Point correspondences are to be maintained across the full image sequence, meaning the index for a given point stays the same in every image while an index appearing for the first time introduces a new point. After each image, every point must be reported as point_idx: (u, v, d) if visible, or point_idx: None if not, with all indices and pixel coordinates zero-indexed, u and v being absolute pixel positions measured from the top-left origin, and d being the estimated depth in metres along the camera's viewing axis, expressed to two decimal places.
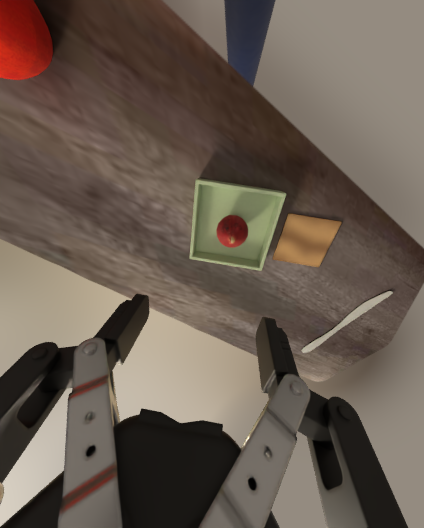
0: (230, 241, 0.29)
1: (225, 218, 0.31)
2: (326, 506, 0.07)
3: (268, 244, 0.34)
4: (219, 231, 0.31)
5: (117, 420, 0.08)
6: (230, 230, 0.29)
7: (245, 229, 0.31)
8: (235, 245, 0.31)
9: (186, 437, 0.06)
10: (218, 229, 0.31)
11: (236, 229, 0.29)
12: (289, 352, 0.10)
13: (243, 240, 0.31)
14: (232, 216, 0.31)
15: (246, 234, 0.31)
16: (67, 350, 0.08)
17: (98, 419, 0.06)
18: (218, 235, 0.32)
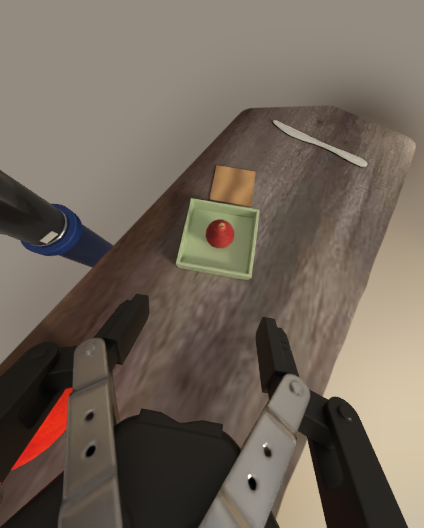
0: (222, 226, 0.32)
1: (207, 238, 0.36)
2: (326, 506, 0.07)
3: (232, 206, 0.39)
4: (217, 240, 0.34)
5: (117, 420, 0.08)
6: (214, 228, 0.33)
7: (215, 220, 0.35)
8: (229, 226, 0.34)
9: (186, 437, 0.06)
10: (216, 242, 0.34)
11: (214, 224, 0.34)
12: (289, 352, 0.10)
13: None
14: (206, 233, 0.36)
15: (220, 219, 0.36)
16: (67, 351, 0.08)
17: (98, 419, 0.06)
18: (221, 242, 0.34)
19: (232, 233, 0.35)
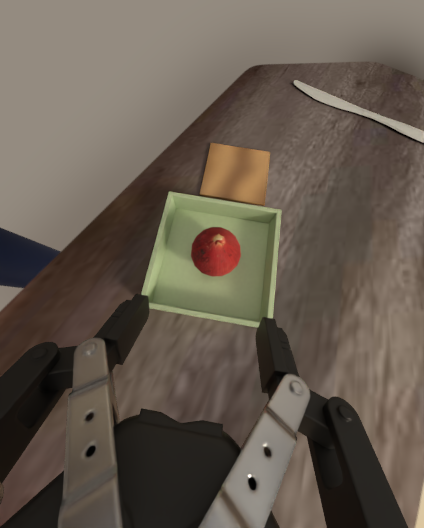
0: (220, 241, 0.17)
1: (193, 260, 0.20)
2: (326, 506, 0.07)
3: (236, 204, 0.24)
4: (210, 266, 0.19)
5: (117, 420, 0.08)
6: (204, 245, 0.18)
7: (207, 228, 0.20)
8: (232, 239, 0.19)
9: (186, 437, 0.06)
10: (208, 269, 0.19)
11: (204, 237, 0.18)
12: (289, 352, 0.10)
13: (225, 229, 0.20)
14: (191, 251, 0.21)
15: None
16: (66, 351, 0.08)
17: (98, 419, 0.06)
18: (218, 268, 0.19)
19: (237, 252, 0.19)
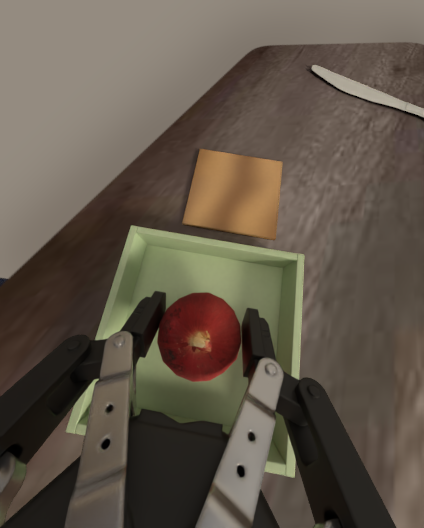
0: (201, 349, 0.09)
1: (161, 353, 0.12)
2: (306, 481, 0.07)
3: (234, 246, 0.15)
4: (186, 376, 0.10)
5: (134, 416, 0.08)
6: (174, 346, 0.10)
7: (184, 300, 0.12)
8: (227, 326, 0.11)
9: (186, 437, 0.06)
10: (184, 377, 0.11)
11: (175, 325, 0.10)
12: (269, 339, 0.11)
13: (214, 303, 0.11)
14: None
15: (200, 296, 0.12)
16: (96, 343, 0.09)
17: (116, 413, 0.06)
18: (201, 380, 0.11)
19: (236, 346, 0.11)
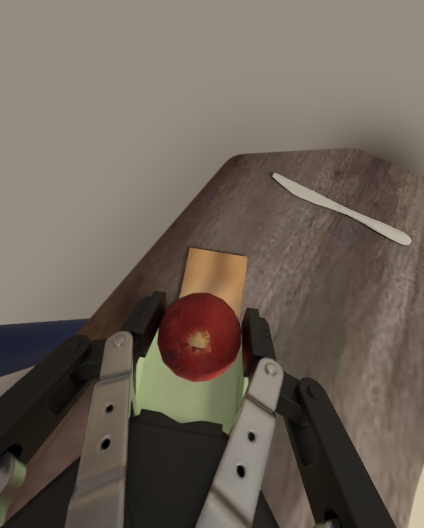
0: (201, 349, 0.09)
1: None
2: (306, 481, 0.07)
3: None
4: (186, 376, 0.10)
5: (134, 416, 0.08)
6: (174, 346, 0.10)
7: (184, 300, 0.12)
8: (226, 327, 0.11)
9: (186, 437, 0.06)
10: (184, 377, 0.11)
11: (175, 326, 0.10)
12: (269, 339, 0.11)
13: (214, 303, 0.11)
14: None
15: (199, 296, 0.12)
16: (96, 343, 0.09)
17: (116, 413, 0.06)
18: (201, 380, 0.11)
19: (236, 346, 0.11)
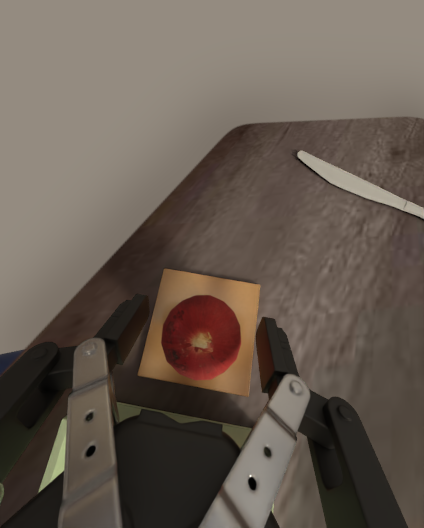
0: (203, 349, 0.09)
1: None
2: (326, 506, 0.07)
3: None
4: (189, 375, 0.11)
5: (117, 420, 0.08)
6: (178, 346, 0.10)
7: (187, 302, 0.12)
8: (227, 328, 0.11)
9: (186, 437, 0.06)
10: (187, 376, 0.11)
11: (179, 327, 0.11)
12: (289, 352, 0.10)
13: (215, 306, 0.12)
14: None
15: (201, 298, 0.13)
16: (67, 351, 0.08)
17: (98, 419, 0.06)
18: (203, 378, 0.11)
19: (236, 347, 0.12)
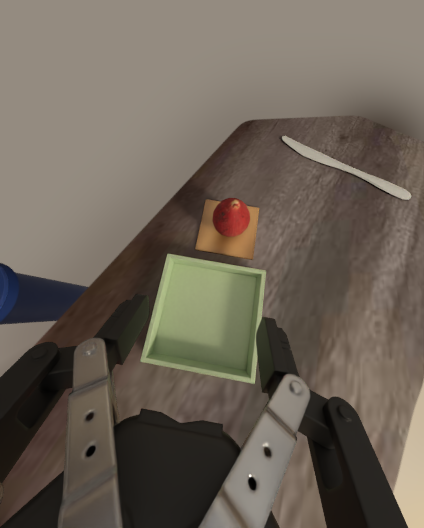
0: (236, 204, 0.24)
1: (214, 223, 0.27)
2: (326, 506, 0.07)
3: (226, 265, 0.27)
4: (228, 225, 0.26)
5: (117, 420, 0.08)
6: (225, 209, 0.25)
7: None
8: (244, 205, 0.26)
9: (186, 437, 0.06)
10: (226, 228, 0.26)
11: (224, 203, 0.25)
12: (289, 352, 0.10)
13: (238, 199, 0.27)
14: (213, 216, 0.28)
15: None
16: (66, 350, 0.08)
17: (98, 419, 0.06)
18: (234, 227, 0.26)
19: (248, 216, 0.26)
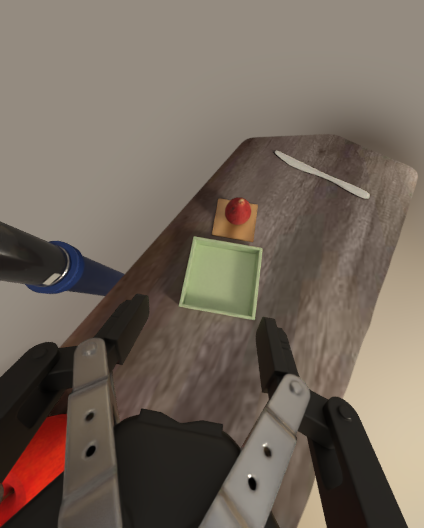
0: (242, 201, 0.36)
1: (226, 215, 0.39)
2: (326, 507, 0.07)
3: (235, 244, 0.39)
4: (236, 216, 0.38)
5: (117, 420, 0.08)
6: (234, 205, 0.37)
7: (234, 198, 0.39)
8: (247, 203, 0.38)
9: (186, 437, 0.06)
10: (235, 218, 0.38)
11: (234, 201, 0.37)
12: (289, 352, 0.10)
13: None
14: (225, 210, 0.40)
15: None
16: (67, 351, 0.08)
17: (98, 419, 0.06)
18: (240, 217, 0.38)
19: (250, 209, 0.38)
